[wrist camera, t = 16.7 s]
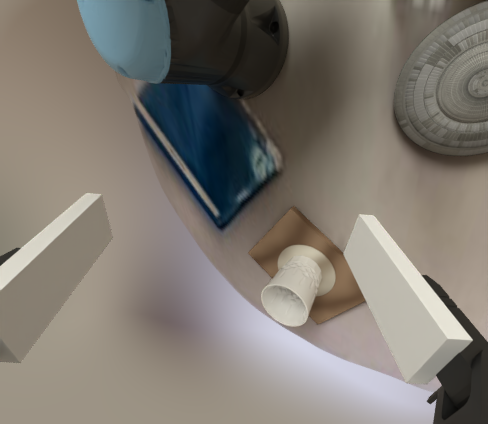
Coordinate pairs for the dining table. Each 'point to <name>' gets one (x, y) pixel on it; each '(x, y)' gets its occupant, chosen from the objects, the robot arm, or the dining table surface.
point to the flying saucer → (448, 87)
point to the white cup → (292, 291)
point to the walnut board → (319, 250)
